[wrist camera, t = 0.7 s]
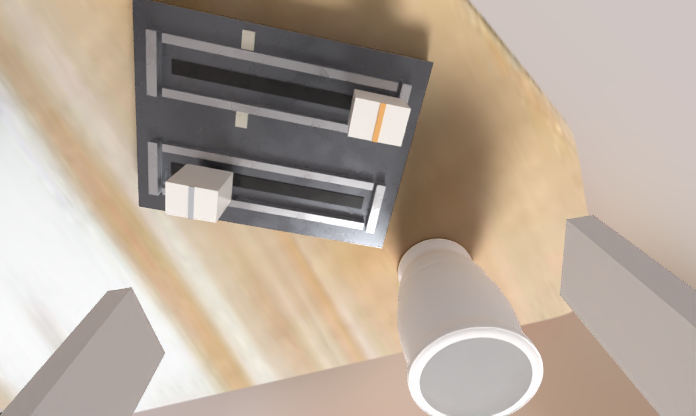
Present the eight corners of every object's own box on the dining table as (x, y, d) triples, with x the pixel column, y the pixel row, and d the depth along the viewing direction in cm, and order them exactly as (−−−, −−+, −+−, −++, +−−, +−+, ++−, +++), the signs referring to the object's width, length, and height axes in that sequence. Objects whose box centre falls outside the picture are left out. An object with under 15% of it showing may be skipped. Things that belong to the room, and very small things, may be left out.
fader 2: (347, 120, 33) (347, 136, 28) (354, 86, 32) (355, 97, 27) (392, 129, 33) (401, 147, 28) (400, 96, 32) (411, 109, 27)
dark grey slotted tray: (151, 196, 39) (133, 210, 36) (147, -1, 32) (125, -5, 28) (380, 236, 41) (382, 253, 38) (427, 60, 34) (435, 63, 30)
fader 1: (191, 187, 35) (164, 214, 30) (192, 159, 34) (164, 182, 29) (234, 195, 36) (215, 223, 31) (236, 167, 35) (217, 191, 29)
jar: (496, 280, 44) (565, 394, 30) (417, 320, 46) (447, 442, 32) (453, 211, 40) (509, 304, 26) (370, 258, 42) (381, 366, 29)
